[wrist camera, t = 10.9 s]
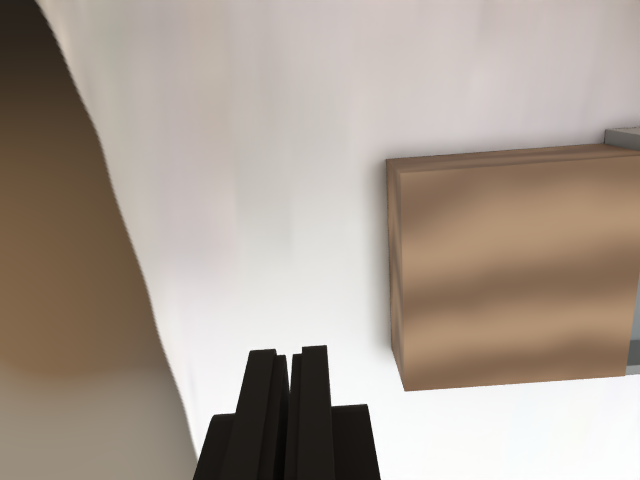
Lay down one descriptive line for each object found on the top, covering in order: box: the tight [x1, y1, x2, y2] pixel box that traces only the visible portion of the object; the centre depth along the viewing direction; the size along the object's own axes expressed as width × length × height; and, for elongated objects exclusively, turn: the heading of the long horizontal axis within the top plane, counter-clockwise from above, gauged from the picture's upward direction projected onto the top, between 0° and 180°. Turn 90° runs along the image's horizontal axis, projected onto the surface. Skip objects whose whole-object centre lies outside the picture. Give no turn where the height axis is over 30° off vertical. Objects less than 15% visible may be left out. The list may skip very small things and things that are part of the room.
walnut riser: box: [386, 143, 640, 391], centre depth 36 cm, size 16×16×6 cm
